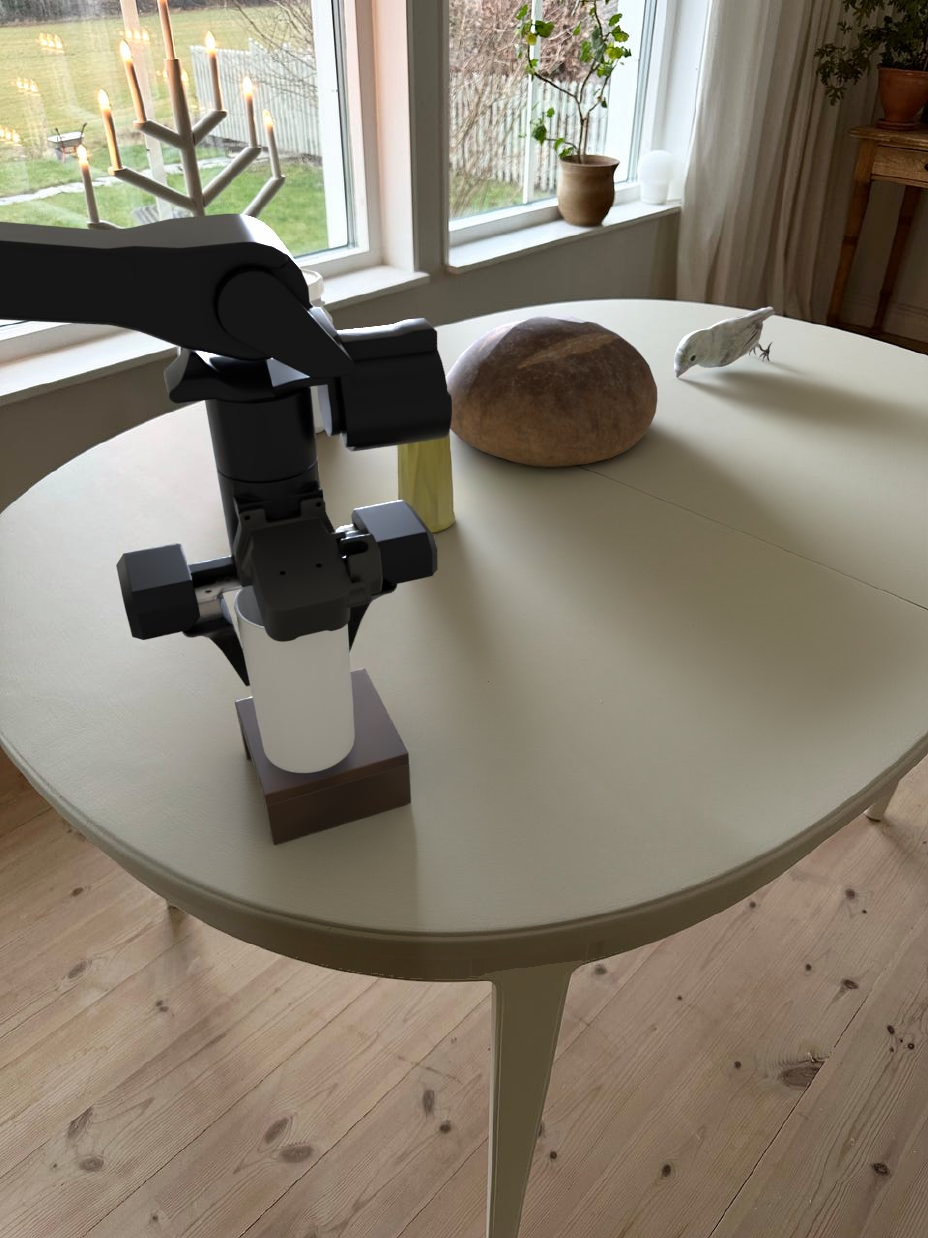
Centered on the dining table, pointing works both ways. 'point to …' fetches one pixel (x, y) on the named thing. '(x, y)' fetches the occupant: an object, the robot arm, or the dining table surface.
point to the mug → (298, 691)
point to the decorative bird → (722, 342)
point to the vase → (427, 481)
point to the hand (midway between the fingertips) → (295, 670)
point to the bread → (551, 393)
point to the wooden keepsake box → (333, 771)
